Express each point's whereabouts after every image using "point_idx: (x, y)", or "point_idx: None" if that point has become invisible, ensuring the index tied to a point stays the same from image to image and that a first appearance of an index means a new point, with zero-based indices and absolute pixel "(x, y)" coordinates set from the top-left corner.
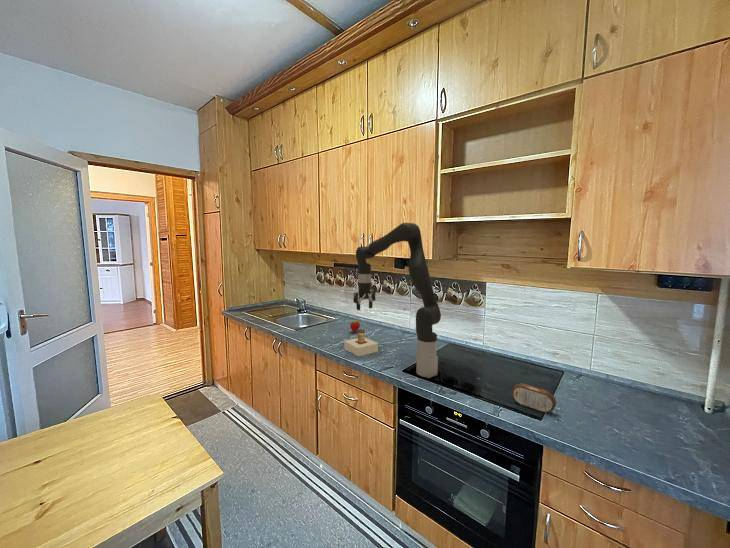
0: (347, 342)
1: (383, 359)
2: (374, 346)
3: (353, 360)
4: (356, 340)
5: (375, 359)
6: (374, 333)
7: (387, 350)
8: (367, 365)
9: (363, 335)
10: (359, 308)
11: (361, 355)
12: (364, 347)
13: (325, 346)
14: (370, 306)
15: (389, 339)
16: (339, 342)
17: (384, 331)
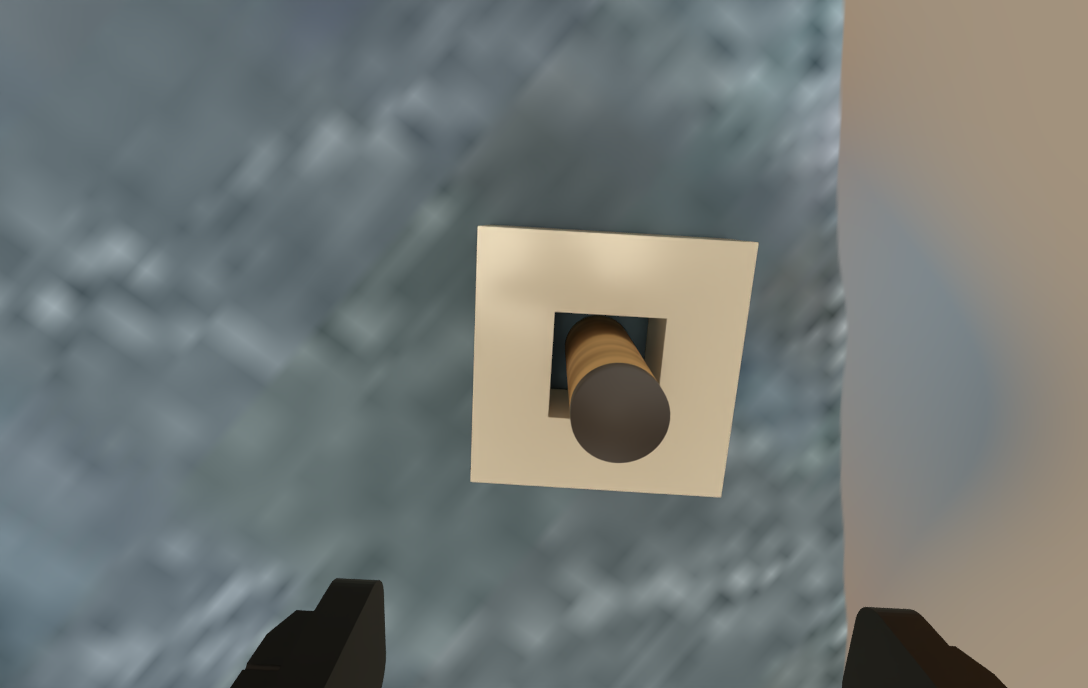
0: (726, 447)
1: (586, 24)
2: (529, 228)
3: (818, 198)
4: None
5: (647, 78)
6: (209, 598)
7: (395, 180)
8: (807, 13)
9: (613, 354)
10: (946, 657)
11: (689, 236)
12: (670, 237)
13: (777, 604)
14: (357, 653)
15: (184, 392)
16: (622, 607)
17: (88, 583)
